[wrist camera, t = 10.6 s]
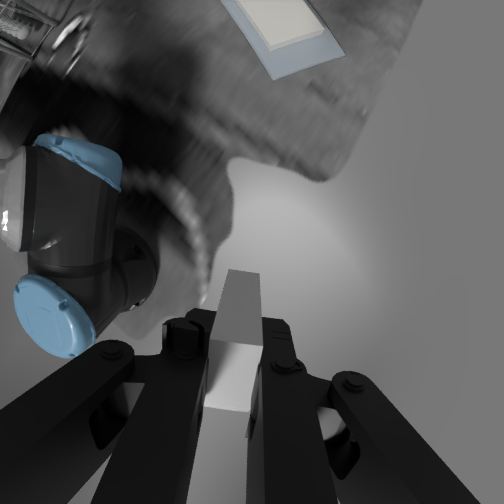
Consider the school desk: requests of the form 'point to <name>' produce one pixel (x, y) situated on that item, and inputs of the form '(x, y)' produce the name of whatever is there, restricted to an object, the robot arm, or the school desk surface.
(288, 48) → the mat
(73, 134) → the school desk surface
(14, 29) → the newton's cradle
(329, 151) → the school desk surface
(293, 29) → the tile
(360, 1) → the school desk surface
